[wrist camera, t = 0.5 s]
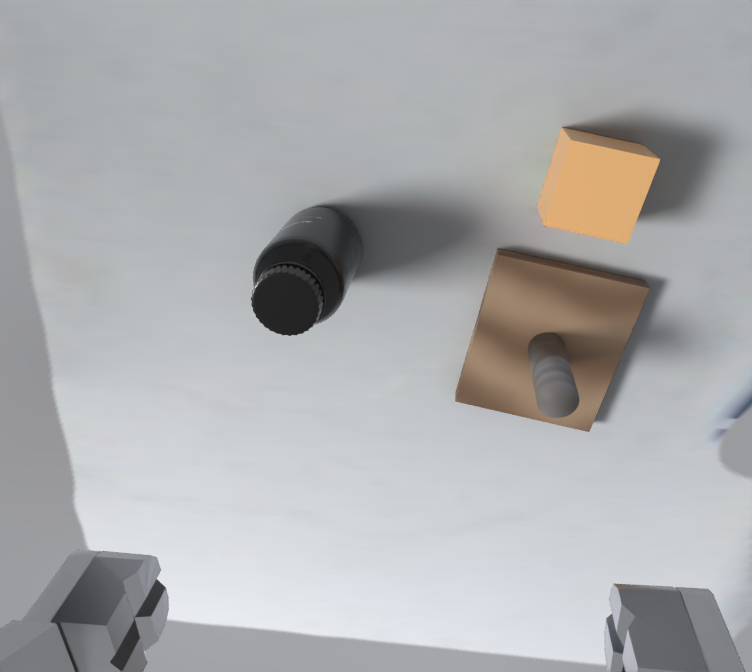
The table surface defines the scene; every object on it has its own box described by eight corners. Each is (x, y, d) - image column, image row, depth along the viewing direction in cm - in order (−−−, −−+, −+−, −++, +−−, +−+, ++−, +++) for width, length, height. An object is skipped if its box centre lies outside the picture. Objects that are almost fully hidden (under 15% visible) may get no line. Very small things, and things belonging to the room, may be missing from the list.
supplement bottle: (307, 188, 52) (265, 235, 41) (378, 235, 53) (356, 293, 42) (268, 255, 55) (219, 315, 44) (336, 298, 56) (305, 367, 45)
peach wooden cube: (561, 127, 47) (571, 139, 43) (642, 144, 47) (660, 159, 43) (536, 206, 50) (543, 225, 46) (613, 222, 50) (627, 244, 46)
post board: (497, 248, 52) (502, 295, 44) (645, 281, 52) (679, 334, 43) (455, 392, 59) (453, 457, 50) (586, 422, 58) (606, 492, 50)
